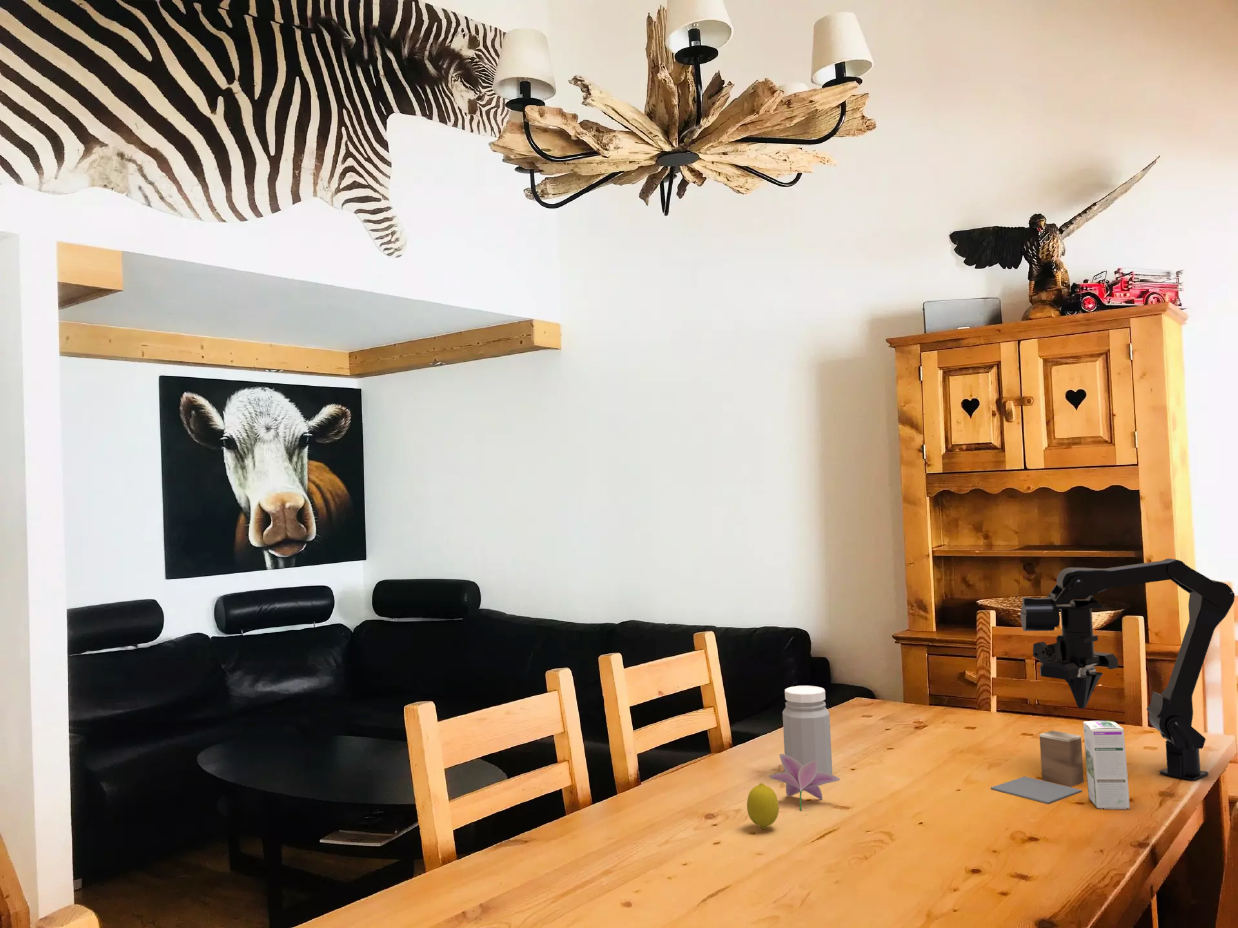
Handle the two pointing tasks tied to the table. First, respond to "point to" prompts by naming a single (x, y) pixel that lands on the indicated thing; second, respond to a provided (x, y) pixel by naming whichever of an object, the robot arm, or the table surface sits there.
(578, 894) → the table surface
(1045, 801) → the rubber mat
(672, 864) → the table surface
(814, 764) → the lily
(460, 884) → the table surface
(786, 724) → the jar
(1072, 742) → the walnut block
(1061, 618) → the robot arm
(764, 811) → the lemon
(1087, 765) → the syrup box
